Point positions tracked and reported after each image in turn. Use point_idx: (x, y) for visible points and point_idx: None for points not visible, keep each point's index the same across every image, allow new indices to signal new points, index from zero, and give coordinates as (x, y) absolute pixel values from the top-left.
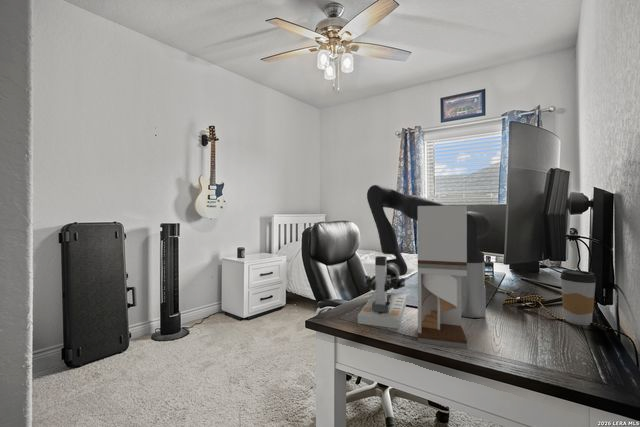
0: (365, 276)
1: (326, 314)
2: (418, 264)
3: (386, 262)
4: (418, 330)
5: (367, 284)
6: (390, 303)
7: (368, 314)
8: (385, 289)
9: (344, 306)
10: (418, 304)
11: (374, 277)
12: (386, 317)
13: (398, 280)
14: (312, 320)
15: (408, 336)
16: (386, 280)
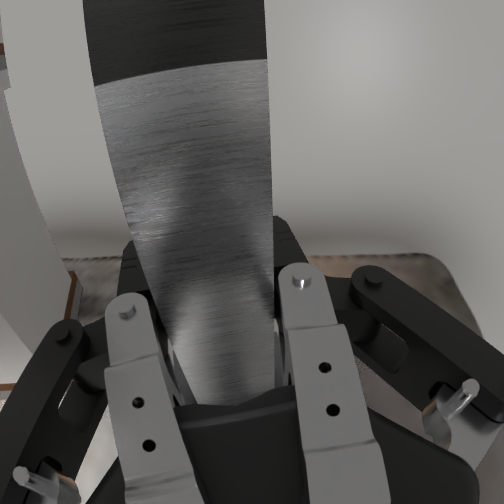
0: (502, 356)
1: (465, 321)
2: (3, 58)
3: (92, 56)
4: (67, 274)
5: (394, 338)
6: None
7: (274, 323)
8: None
9: (501, 447)
10: (34, 201)
11: (419, 437)
12: None
13: (28, 379)
14: (441, 262)
15: (104, 310)
16: (153, 289)
